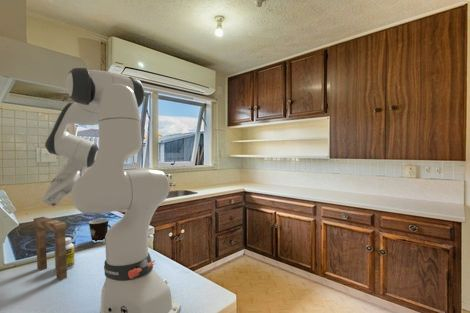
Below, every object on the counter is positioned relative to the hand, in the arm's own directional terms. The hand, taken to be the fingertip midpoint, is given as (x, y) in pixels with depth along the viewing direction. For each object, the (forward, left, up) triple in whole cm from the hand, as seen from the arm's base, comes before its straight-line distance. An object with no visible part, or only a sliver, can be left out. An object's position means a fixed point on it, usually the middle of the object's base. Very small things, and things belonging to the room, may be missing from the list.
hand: (53, 204), depth 94 cm
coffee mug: (+15, -26, -26) cm, 40 cm away
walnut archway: (0, +1, -25) cm, 25 cm away
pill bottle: (+1, -3, -26) cm, 26 cm away
